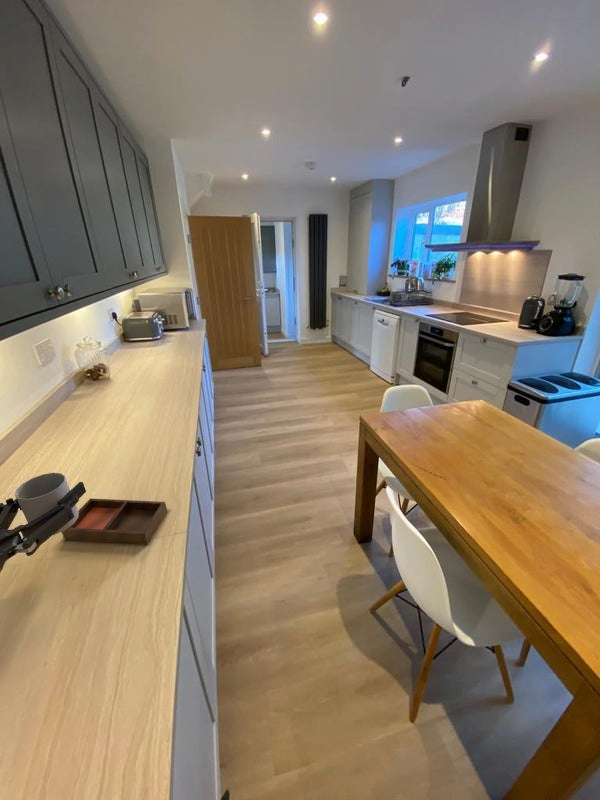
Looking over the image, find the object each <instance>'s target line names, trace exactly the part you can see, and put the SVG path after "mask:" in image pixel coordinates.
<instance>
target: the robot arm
mask: <svg viewBox="0 0 600 800" xmlns="http://www.w3.org/2000/svg"><path fill="white" fill-rule="evenodd" d="M86 493H87V489H86V487H85V484H84V482H83V481H79V482H78V483H77V484H76V485H75V486H74V487H72V488H70V491H69V492H68V493H67V494H66V495H65V496H64V497H63V498H62V499H61V500H60V501H59V502H58V506H57V507H55V508H53V509H51V510H50V511H48V512H46V513H45V514H43V515H41V516H39V517H38V518H36V519H34V520H32V521H31V522H29V523H28V522H27V523H26V524H19V525H18V526H15V527H14V528H12V529H10V527H11V525H12V523H13V521H14V520H15V518H16V517H17V516H18V515H17V514H18V513H19V510H20V511H22V509H21V507H20V505H19V503H18V501H17V499H16V498H15V499H14V498H12V497H10V498H7V499H6V500H5V503H3V502H0V573H1V572H2V571H3V570H4V566H5V564H6V563H7V561H8V560H10V559H11V558H13V557H14V556H16V555H17V554H23V553H25V555H26V556H27V557H31V556H32V555H34V554H35V553H36V552H37V550H39V548H40V547H41V546H42V545H43V544H44V543H45V542H46V541H48V540H49V539H50V538H51V537H53V536H54V535H53V534H55V533H56V532H57V531H58V530H60V529H61V528H62V527H63V526H64V525H66V524H67V523H68V522H69V521H71V520H72V519H73V518H74V517H75V516H74V514H73V511H72V508H73V507H74V506H75V504H76V505H77V504H78V503H79V501H80V499H81V498H82V497H83V496H84V495H85V494H86ZM59 511H60V512H59ZM21 535H22V536H21Z"/></svg>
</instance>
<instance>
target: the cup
mask: <svg viewBox="0 0 600 800" xmlns="http://www.w3.org/2000/svg"><path fill="white" fill-rule="evenodd" d="M70 490H71V488H70V486H69V483H68V480H67V477H66V475H64V474H63V473H62V472H61V473H60V472H48V473H43V474H40V475H37V476H35V477H32V478H30V479H28V480H27V481H24V482H23V483H21V485H20V486H18V488H16V490H15V493H14V496H15V499H17V501H18V503H19V505H20V507H21V509H22V510H21V512H22V513H23V515H24V517H25V520H26V522H27V523H29V522H31V521H32V520H34V519H36V518H38V517H39V516H41V515H43V514H45V513H46V512H48V511H50V510H51V509H53V508H55V507H57V506H58V502H59V501H60V500H61V499H62V498H63V497H64V496H65V495H66V494H67V493H68V492H69V491H70ZM72 511H73V514H74V516H75V517H74V518H73V519H72V520H71V521H69V522H68V523H67V524H66V525H64V526H63V527H62V528H61V529H60V530H58V531H57V532H56V533H55V534H53V535H52V536H55V535H58V534H60V533H62V531H64V530H66V529H67V528H69V527H70V526H71V525H73V524H74V523H75V521H76V520H77V518H78V514H79V512H78V511H79V509H78V507H77V503H76V504H75V506H74V507H73V508H72ZM59 512H60V511H59Z"/></svg>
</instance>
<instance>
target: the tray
mask: <svg viewBox="0 0 600 800" xmlns="http://www.w3.org/2000/svg"><path fill="white" fill-rule="evenodd" d="M166 503H167V502H166V501H156V500H132V499H109V498H93V497H91V498H89V499H88V500H87V501H86V502H85V503H83V505H82V506H81V507H80V509H78V512H79V514H78V518H77V520H76V521H75V523H74V524H73V525H71V526H70V527H69V528H67V529H66V530H64V531H62V532H61V534H62V536H63V539H64V541H78V542H96V543H97V542H98V543H113V544H130V545H131V544H133V545H149V544H150V541H151V540H152V538H153V536H154V535H155V533H156V532H157V530H158V528H159V526H160V525H161V523H162V521H163V520H164V518H165V517H166V515H167V513H168V507H167V504H166Z"/></svg>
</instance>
